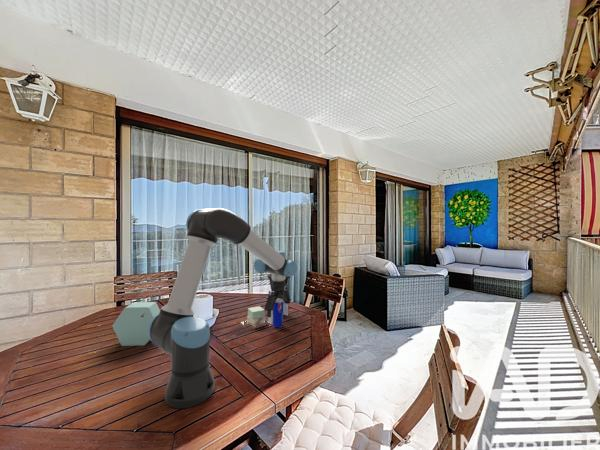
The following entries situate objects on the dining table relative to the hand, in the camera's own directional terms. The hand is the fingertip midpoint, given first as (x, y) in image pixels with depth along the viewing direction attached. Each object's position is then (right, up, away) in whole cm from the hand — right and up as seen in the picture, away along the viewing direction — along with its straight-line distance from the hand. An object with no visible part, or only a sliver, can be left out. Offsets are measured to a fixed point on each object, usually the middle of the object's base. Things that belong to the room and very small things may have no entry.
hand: (278, 318), depth 139 cm
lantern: (-2, -4, +20) cm, 21 cm away
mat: (-13, -4, +3) cm, 14 cm away
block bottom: (-13, -4, +3) cm, 13 cm away
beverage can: (0, -5, 0) cm, 5 cm away
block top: (-13, 0, +3) cm, 13 cm away
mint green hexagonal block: (-63, -4, -19) cm, 66 cm away
